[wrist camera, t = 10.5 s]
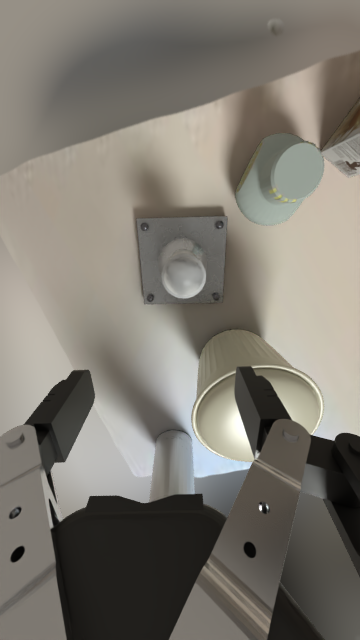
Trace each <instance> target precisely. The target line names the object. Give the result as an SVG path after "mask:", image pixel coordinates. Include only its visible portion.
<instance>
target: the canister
mask: <svg viewBox="0 0 360 640" xmlns="http://www.w3.org/2000/svg"><path fill="white" fill-rule="evenodd" d="M240 366H251V367H252V368H253V370H254V372H255V374H256V376H261V375H262V376H263V377H265V378H266V379H267V380H268V381H269V382H270V383H271V385H272V386H273V388H274V391H276V393H277V395H278V397H279V398H280V400H281V402H282V403H283V405H284V407H285V409H286V410H287V412H288V414H289V415H290V417H291V419H292V420H293V421H295V422H297V423H299V424H301V425H302V426H303V427H304V428H305V429H306V430H307V431H308V433H309V434H310V435H313V434H314V432H315V431H316V430H317V428H318V426H319V424H320V422H321V420H322V417H323V413H324V400H323V396H322V393H321V391H320V389H319V387H318V386H317V384H316V383H315V382H314V381H313V380H312V379H311V378H310V377H309V376H308V375H306V374H305V373H303V372H301V371H300V370H297V369H295V368H293V367H292V366H291V365H290V364H289V363H288V362H287V361H286V360H285V359H284V358H283V357H282V356H281V355H280V354H279V353H278V352H277V351H276V350H275V349H273V348H272V347H271V346H270V345H269V344H268V343H267V342H266V341H265V340H263V339H262V338H261V337H259V336H258V335H256V334H254V333H252V332H250V331H246V330H240V329H237V330H234V329H232V330H227V331H224V332H221V333H219V334H217V335H216V336H214V337H213V338H212V339H210V340H209V341H208V343H207V344H206V345H205V347H204V348H203V350H202V353H201V355H200V360H199V368H198V381H197V398H196V401H195V403H194V406H193V410H192V416H191V420H192V427H193V431H194V433H195V435H196V437H197V439H198V440H199V441H200V442H201V444H202V445H203V446H205V447H206V448H207V449H208V450H210V451H211V452H213V453H215V454H216V455H219V456H221V457H224V458H227V459H231V460H236V461H245V462H253V461H254V460H255V459H254V456H253V453H252V450H251V447H250V444H249V441H248V438H247V435H246V432H245V429H244V425H243V422H242V419H241V416H240V413H239V410H238V407H237V404H236V401H235V395H234V387H235V376H236V368H237V367H240ZM256 460H257V459H256Z"/></svg>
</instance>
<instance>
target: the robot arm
mask: <svg viewBox="0 0 360 640" xmlns="http://www.w3.org/2000/svg"><path fill="white" fill-rule="evenodd" d="M234 395H235V401H236V404H237V407H238V410H239V413H240V416H241V419H242V422H243V425H244V429H245V432H246V435H247V438H248V441H249V444H250V447H251V450H252V453H253V456H254V459H255V460H254V461H253V463H252V465H251V467H250V469H249V471H248V473H247V476H246V478H245V480H244V482H243V485H242V487H241V489H240V491H239V493H238V496H237V498H236V500H235V502H234V504H233V507H232V509H231V511H230V513H229V515H228V517H226V516H225V515H224V514H223V513H222V512H220V511H218V510H217V509H215V508H213V507H211V506H209V505H205V504H203V496H202V494H195V490H194V469H193V448H192V440H191V438H190V437H189V436H188V435H187V434H186V433H184V432H181V431H176V430H172V431H167V432H164V433H162V434H161V435H159V437H158V438H157V440H156V447H155V456H154V464H153V473H152V482H151V490H150V500H149V503H140V502H137V501H134V500H130V499H127V498H123V497H120V496H90V497H89V501H88V503H87V506H86V507H85V508H82V509H80V510H78V511H76V512H74V513H72V514H71V515H69V516H67V517H66V518H65V519H63V517H62V515H61V510H60V506H59V502H58V497H57V493H56V488H55V484H54V479H53V475H52V471H51V468H52V466H53V465H54V463H56V462H65V461H66V459H67V457H68V455H69V453H70V451H71V449H72V446H73V444H74V442H75V440H76V438H77V436H78V434H79V432H80V430H81V428H82V426H83V424H84V422H85V420H86V418H87V416H88V414H89V412H90V410H91V407H92V405H93V403H94V398H95V393H94V388H93V383H92V379H91V374H90V371H89V370H73V371H72V372H71V374H70V375H69V376H68V378H67V379H66V380H62V381H61V382H59V383H58V384H57V385H55V386H54V387H53V388H52V389H51V391H50V392H49V393H48V396H46V397H45V398H44V400H43V402H41V403H40V405H39V406H38V407H37V409H36V410H35V411H34V412H33V414H32V415H31V416H30V417H29V419H28V420H27V421H26V422H25V424H24V425H21V426H17V427H15V428H13V429H11V430H9V431H7V432H6V433H4V434H3V435H2V436H1V437H0V640H325V639H324V638H323V636H322V635H321V634H320V633H319V632H318V630H317V629H316V627H315V626H314V625H313V624H312V622H311V621H310V620H309V618H308V617H307V616H306V615H305V613H304V612H303V611H302V609H301V608H300V607H299V606H298V605H297V603H296V602H295V601H294V599H293V598H292V597H291V595H290V594H289V593H288V592H287V590H286V589H285V588H284V586H283V585H282V584H281V583H280V578H281V574H282V569H283V565H284V560H285V556H286V552H287V547H288V542H289V538H290V534H291V530H292V525H293V521H294V517H295V512H296V507H297V503H298V499H299V495H300V491H301V492H304V493H307V494H310V495H313V496H316V497H319V498H322V499H323V501H324V503H325V505H326V507H327V509H328V511H329V513H330V515H331V517H332V520H333V522H334V524H335V526H336V528H337V530H338V532H339V534H340V537H341V538H342V541H343V543H344V545H345V547H346V549H347V551H348V553H349V555H350V557H351V560H352V562H353V564H354V566H355V568H356V570H357V572H358V574H359V576H360V437H359V436H357V435H354V434H350V433H341V434H339V435H337V436H336V438H335V441H332V440H328V439H324V438H320V437H316V436H313V435H310V434H309V433H308V431H307V430H306V429H305V428H304V427H303V426H302V425H301V424H299V423H297V422H295V421H293V420H292V419H291V417H290V415H289V414H288V412H287V410H286V409H285V407H284V405H283V403H282V402H281V400H280V398H279V397H278V395H277V393H276V391H274V388H273V386H272V385H271V383H270V382H269V381H268V380H267V379H266V378H265V377H263V376H262V375H261V376H256V374H255V372H254V370H253V368H252V367H251V366H240V367H237V368H236V376H235V387H234ZM256 459H257V460H256Z"/></svg>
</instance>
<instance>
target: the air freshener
mask: <svg viewBox="0 0 360 640" xmlns="http://www.w3.org/2000/svg"><path fill="white" fill-rule="evenodd" d="M323 172H324V159H323V156H321V151H320V149H319V148H317V147H316V146H315V144H314V143H310V142H308V141H304V140H303V139H301V138H300V137H298V136H295V135H293V134H288V133H278V134H273V135H270V136H268V137H265V138H264V139H263V140H262V141H261V142H260V144H259V146H258V147H257V149H256V151H255V153H254V154H253V156H252V158H251V160H250V162H249V164H248V166H247V168H246V170H245V172H244V174H243V176H242V178H241V180H240V183H239V185H238V187H237V190H236V193H235V198H236V202H237V205H238V207H239V209H240V210H241V212H242V213H243V215H244V216H245V217H246V218H248V219H249V220H250V221H252V222H254V223H256V224H259V225H265V226H270V225H277V224H281V223H283V222H285V221H287V220H288V219H289V218H290V217H291V216H292V215H293V214H294V212H295V211H296V210H297V209H298V207H299V206H300V204H301V203H302V201H303V200H304V199H305V198H307V197H308V196H310V195H311V194H312V193H313V192H314V191H315V189H316V188H317V187H318V185H319V183H320V181H321V179H322V176H323Z"/></svg>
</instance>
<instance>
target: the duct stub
mask: <svg viewBox="0 0 360 640" xmlns="http://www.w3.org/2000/svg"><path fill="white" fill-rule="evenodd" d="M205 281H206V271H205V268H204V266H203V264H202V262H201V261H200V260H199V259H198V258H197V257H196V255H195V254H194V253H193V252H192V251H190V250H187V249H180V250H177V251H175V252H174V253H173V254H172V255H171V256H170V258H169V260H168V261H167V262H166V264H165V265H164V268H163V271H162V282H163V285H164V287H165V289H166V290H167V291H168V292H169V293H170V294H171V295H173V296H175V297H177V298H190V297H193V296H195V295H196V294H198V293H199V292H200V291H201V290H202V288H203V286H204V284H205Z"/></svg>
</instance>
